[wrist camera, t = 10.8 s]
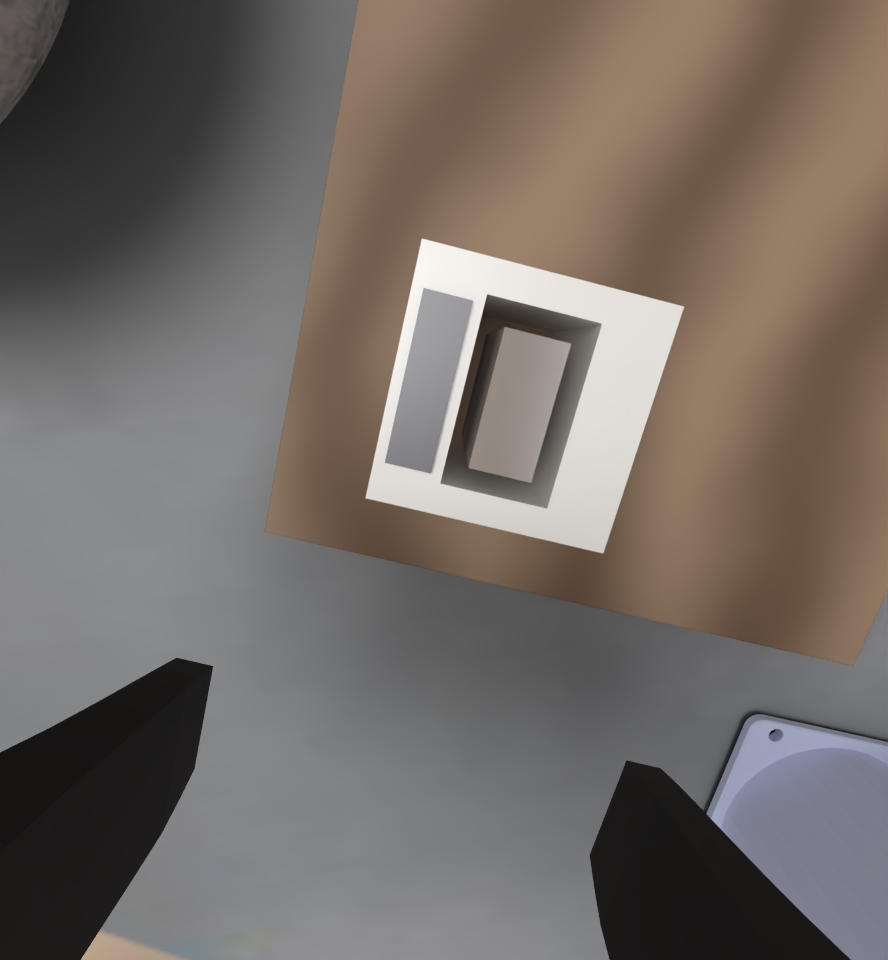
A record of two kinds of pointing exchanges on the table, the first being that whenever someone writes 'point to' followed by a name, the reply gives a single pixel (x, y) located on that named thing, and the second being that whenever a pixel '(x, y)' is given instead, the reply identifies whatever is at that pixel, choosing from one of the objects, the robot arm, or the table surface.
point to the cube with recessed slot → (576, 412)
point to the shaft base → (632, 268)
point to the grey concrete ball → (25, 44)
